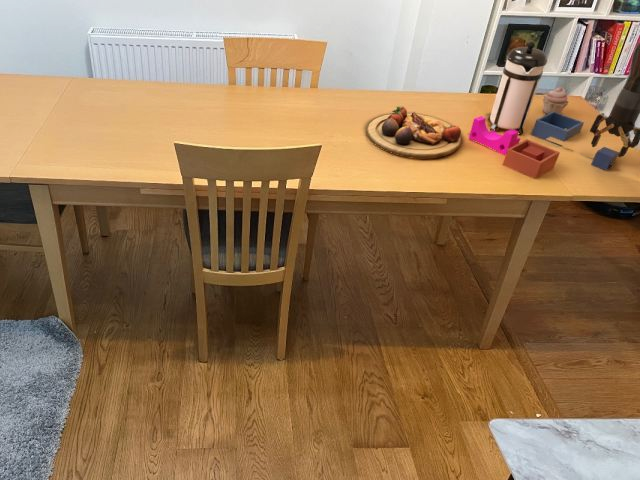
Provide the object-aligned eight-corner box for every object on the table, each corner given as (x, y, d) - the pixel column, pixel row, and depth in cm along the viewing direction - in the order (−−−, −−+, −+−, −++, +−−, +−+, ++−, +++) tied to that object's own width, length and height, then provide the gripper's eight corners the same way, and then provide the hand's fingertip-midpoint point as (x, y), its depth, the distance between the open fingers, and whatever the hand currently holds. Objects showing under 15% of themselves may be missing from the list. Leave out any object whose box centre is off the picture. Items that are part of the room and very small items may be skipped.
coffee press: (537, 131, 210) (568, 45, 191) (505, 139, 205) (533, 52, 185) (502, 112, 222) (527, 30, 203) (470, 120, 216) (493, 35, 197)
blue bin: (578, 137, 207) (584, 122, 204) (561, 146, 202) (567, 131, 198) (547, 125, 214) (553, 111, 210) (530, 134, 208) (536, 119, 205)
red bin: (553, 167, 190) (559, 152, 186) (535, 179, 184) (541, 163, 180) (521, 154, 197) (526, 139, 193) (502, 164, 191) (507, 149, 187)
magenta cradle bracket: (516, 150, 198) (523, 130, 194) (505, 155, 196) (512, 134, 191) (479, 134, 207) (485, 114, 203) (468, 139, 204) (474, 118, 200)
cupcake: (539, 115, 221) (548, 89, 214) (537, 106, 227) (546, 80, 221) (565, 119, 219) (575, 93, 212) (563, 109, 226) (572, 83, 219)
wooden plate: (475, 136, 206) (481, 114, 200) (434, 170, 187) (440, 146, 181) (394, 111, 221) (398, 89, 216) (349, 139, 202) (352, 117, 197)
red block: (539, 165, 190) (545, 151, 186) (531, 170, 187) (536, 155, 184) (525, 159, 193) (530, 145, 189) (517, 164, 190) (522, 150, 187)
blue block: (613, 166, 192) (619, 152, 188) (605, 170, 189) (612, 156, 186) (598, 160, 194) (604, 146, 191) (590, 164, 192) (597, 151, 189)
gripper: (600, 98, 180) (580, 146, 191) (648, 114, 172) (623, 163, 183) (611, 92, 184) (590, 139, 195) (658, 108, 176) (634, 156, 187)
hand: (606, 151), depth 189 cm, fingers open, 8 cm apart
